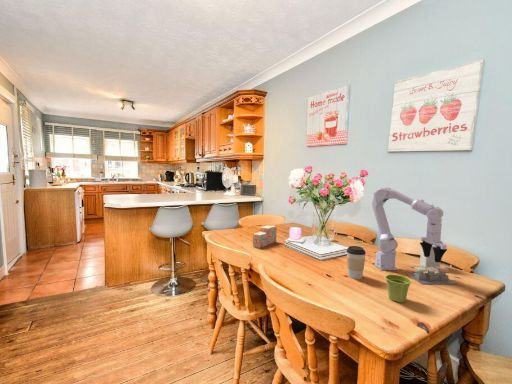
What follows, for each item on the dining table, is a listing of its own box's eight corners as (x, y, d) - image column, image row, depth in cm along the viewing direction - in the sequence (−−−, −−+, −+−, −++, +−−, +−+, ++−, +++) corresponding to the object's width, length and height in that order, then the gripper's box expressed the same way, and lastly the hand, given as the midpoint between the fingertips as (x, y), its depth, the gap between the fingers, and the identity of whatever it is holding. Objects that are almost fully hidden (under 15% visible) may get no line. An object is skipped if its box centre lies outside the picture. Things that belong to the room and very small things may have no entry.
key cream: (429, 276, 124) (430, 269, 123) (424, 273, 127) (424, 266, 127) (437, 276, 124) (438, 269, 123) (432, 273, 128) (432, 266, 127)
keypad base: (421, 284, 120) (422, 279, 119) (406, 274, 131) (406, 269, 131) (457, 284, 120) (457, 279, 120) (438, 274, 132) (439, 269, 132)
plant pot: (379, 294, 109) (380, 274, 109) (400, 293, 110) (401, 273, 110) (393, 305, 100) (394, 284, 99) (415, 304, 101) (416, 283, 100)
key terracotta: (441, 276, 124) (441, 269, 123) (435, 273, 128) (435, 266, 127) (449, 276, 124) (449, 269, 123) (442, 273, 128) (443, 266, 127)
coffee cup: (364, 274, 131) (365, 245, 130) (365, 281, 122) (366, 250, 121) (345, 271, 134) (346, 243, 133) (345, 278, 125) (346, 248, 124)
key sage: (418, 276, 123) (419, 269, 123) (413, 273, 127) (413, 266, 127) (426, 276, 123) (427, 269, 123) (421, 273, 127) (421, 266, 127)
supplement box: (440, 269, 139) (441, 246, 138) (425, 268, 140) (426, 245, 139) (433, 264, 146) (435, 243, 145) (419, 263, 147) (420, 242, 146)
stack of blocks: (260, 248, 173) (260, 230, 172) (252, 247, 177) (252, 229, 176) (276, 241, 190) (276, 225, 190) (269, 240, 194) (269, 224, 193)
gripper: (453, 235, 117) (451, 264, 118) (431, 228, 131) (429, 254, 132) (438, 235, 117) (436, 264, 118) (417, 228, 131) (416, 254, 132)
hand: (432, 259), depth 125 cm, fingers open, 7 cm apart
